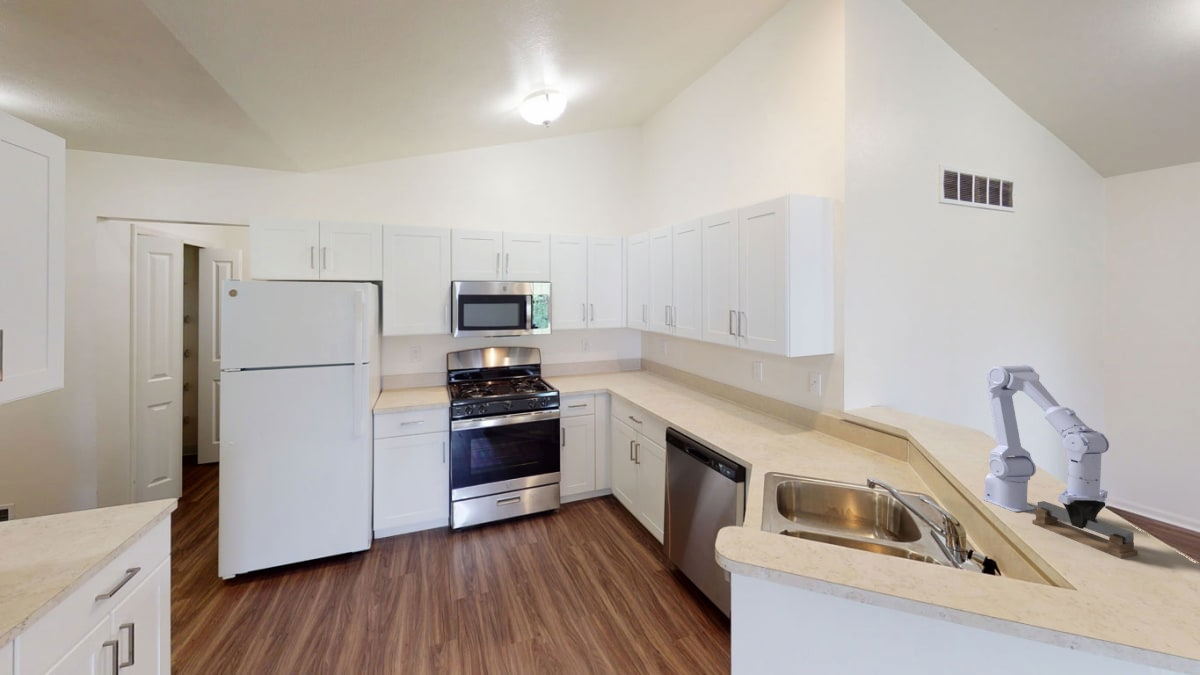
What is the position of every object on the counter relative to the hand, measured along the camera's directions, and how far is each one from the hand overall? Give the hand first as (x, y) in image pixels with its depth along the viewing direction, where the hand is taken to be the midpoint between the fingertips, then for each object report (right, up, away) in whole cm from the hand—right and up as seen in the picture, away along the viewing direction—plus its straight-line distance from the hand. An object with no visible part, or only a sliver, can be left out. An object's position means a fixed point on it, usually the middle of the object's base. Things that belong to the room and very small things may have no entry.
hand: (1081, 526), depth 114 cm
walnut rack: (0, -3, 0) cm, 3 cm away
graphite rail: (0, 0, 0) cm, 0 cm away
